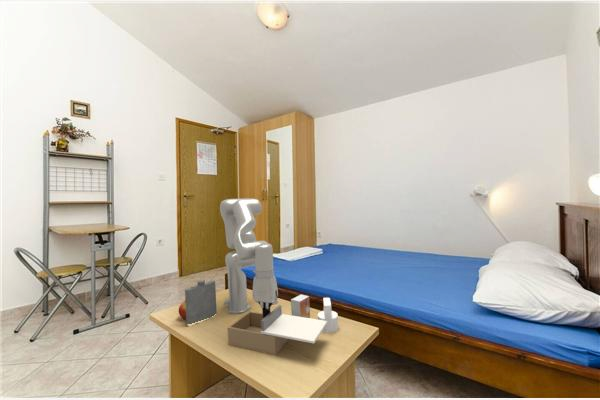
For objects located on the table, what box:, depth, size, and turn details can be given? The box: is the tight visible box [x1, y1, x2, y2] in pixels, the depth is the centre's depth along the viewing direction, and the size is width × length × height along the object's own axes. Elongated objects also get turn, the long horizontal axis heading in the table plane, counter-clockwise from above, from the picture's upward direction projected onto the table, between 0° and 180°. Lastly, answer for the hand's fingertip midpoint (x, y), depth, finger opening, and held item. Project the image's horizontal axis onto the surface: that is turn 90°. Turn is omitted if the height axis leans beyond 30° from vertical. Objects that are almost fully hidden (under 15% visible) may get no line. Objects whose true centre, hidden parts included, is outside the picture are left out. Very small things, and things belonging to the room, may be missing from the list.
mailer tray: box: [227, 310, 289, 355], centre depth 112 cm, size 22×16×7 cm
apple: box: [178, 301, 186, 319], centre depth 135 cm, size 8×8×10 cm
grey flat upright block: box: [184, 279, 218, 325], centre depth 132 cm, size 16×4×20 cm, turn 140°
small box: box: [290, 293, 311, 318], centre depth 129 cm, size 8×6×10 cm
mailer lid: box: [261, 304, 327, 344], centre depth 105 cm, size 22×16×5 cm
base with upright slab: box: [317, 297, 339, 334], centre depth 119 cm, size 9×9×12 cm
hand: (266, 316), depth 110 cm, fingers closed
